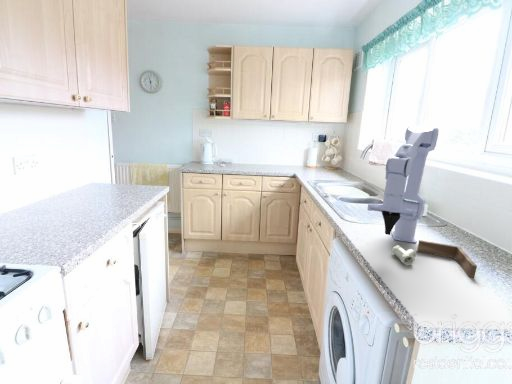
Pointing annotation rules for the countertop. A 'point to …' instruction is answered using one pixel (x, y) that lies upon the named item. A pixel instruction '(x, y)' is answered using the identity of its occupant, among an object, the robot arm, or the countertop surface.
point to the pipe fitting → (404, 255)
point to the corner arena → (449, 254)
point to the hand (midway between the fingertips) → (387, 233)
